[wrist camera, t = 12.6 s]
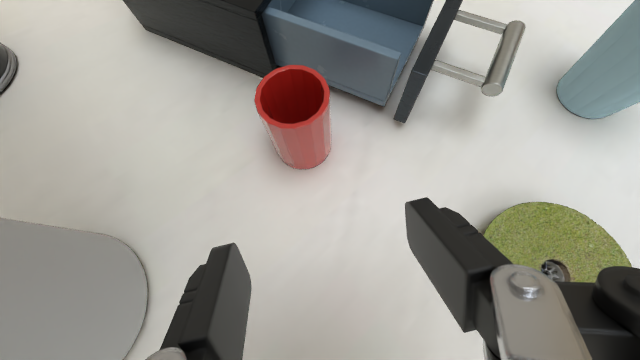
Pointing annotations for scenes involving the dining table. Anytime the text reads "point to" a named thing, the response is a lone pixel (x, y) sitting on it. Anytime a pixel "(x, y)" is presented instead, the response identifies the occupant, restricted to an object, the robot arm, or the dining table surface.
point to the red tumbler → (296, 114)
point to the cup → (606, 71)
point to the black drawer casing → (213, 28)
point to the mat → (555, 241)
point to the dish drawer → (379, 44)
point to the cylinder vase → (67, 294)
